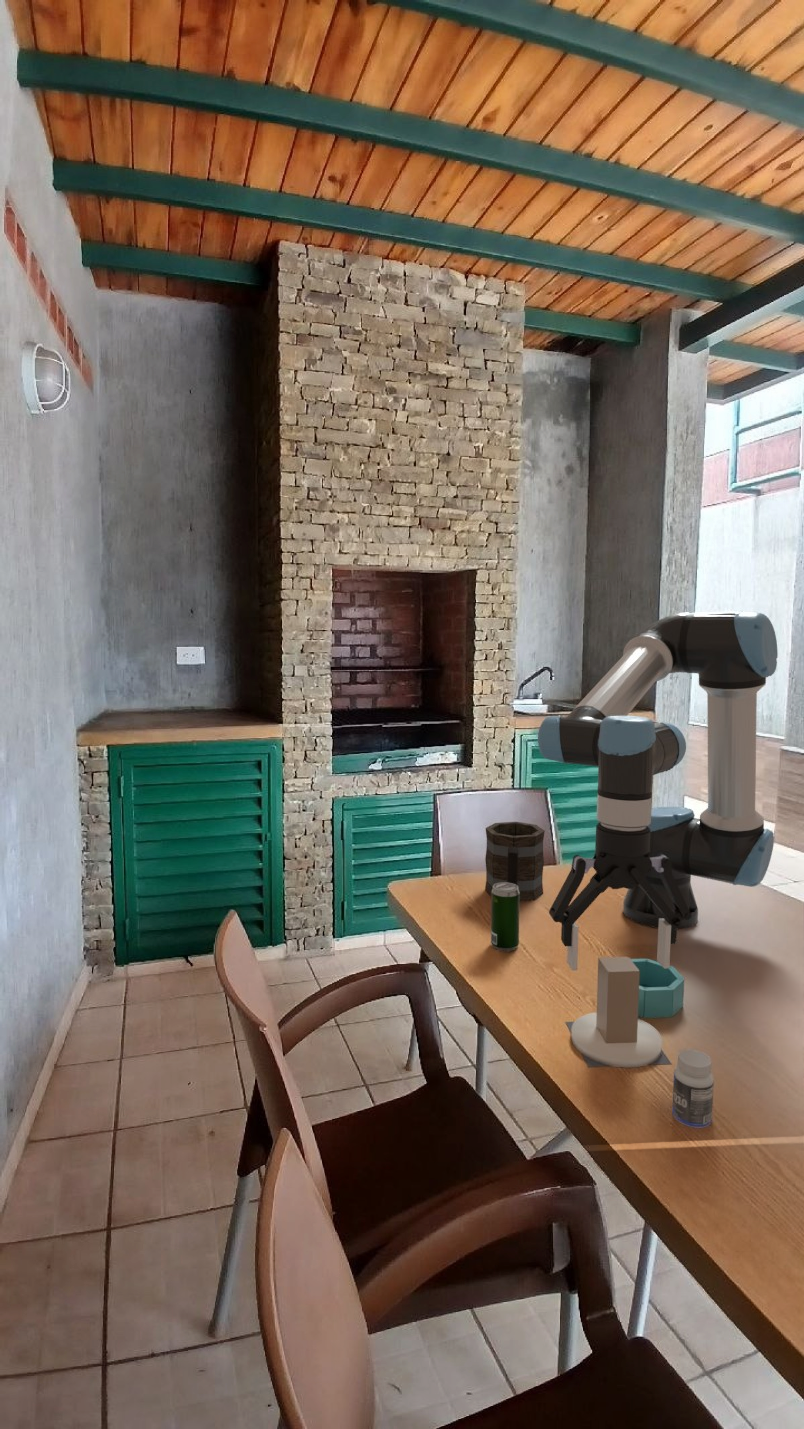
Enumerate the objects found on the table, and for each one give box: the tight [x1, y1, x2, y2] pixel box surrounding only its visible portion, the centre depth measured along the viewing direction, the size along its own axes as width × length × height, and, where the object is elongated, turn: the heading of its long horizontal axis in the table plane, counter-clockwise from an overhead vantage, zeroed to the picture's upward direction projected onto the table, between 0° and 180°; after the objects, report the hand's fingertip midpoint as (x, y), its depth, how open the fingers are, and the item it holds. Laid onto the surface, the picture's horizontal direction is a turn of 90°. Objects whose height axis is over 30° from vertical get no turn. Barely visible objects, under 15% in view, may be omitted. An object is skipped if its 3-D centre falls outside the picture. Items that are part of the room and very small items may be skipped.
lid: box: [570, 956, 663, 1069], centre depth 112 cm, size 13×13×12 cm
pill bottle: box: [671, 1048, 715, 1129], centre depth 95 cm, size 5×5×8 cm
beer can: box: [490, 882, 520, 952], centre depth 146 cm, size 5×5×12 cm
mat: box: [565, 1021, 673, 1068], centre depth 113 cm, size 12×12×1 cm
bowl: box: [630, 958, 685, 1019], centre depth 125 cm, size 11×11×5 cm
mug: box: [484, 821, 546, 903], centre depth 172 cm, size 20×14×15 cm
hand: (617, 965), depth 111 cm, fingers open, 13 cm apart
